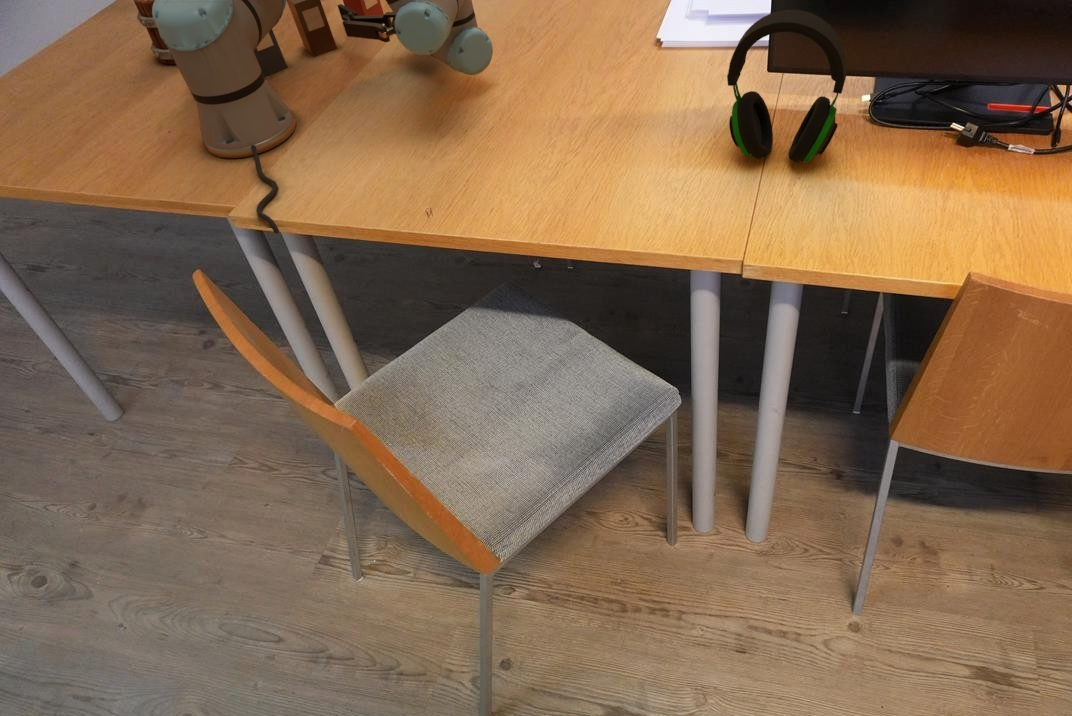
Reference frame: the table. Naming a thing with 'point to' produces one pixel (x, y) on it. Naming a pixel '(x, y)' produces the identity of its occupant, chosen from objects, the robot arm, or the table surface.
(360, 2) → the red box
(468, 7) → the robot arm
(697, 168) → the table surface
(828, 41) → the headphones
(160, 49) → the mug
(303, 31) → the line block
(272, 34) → the line block
